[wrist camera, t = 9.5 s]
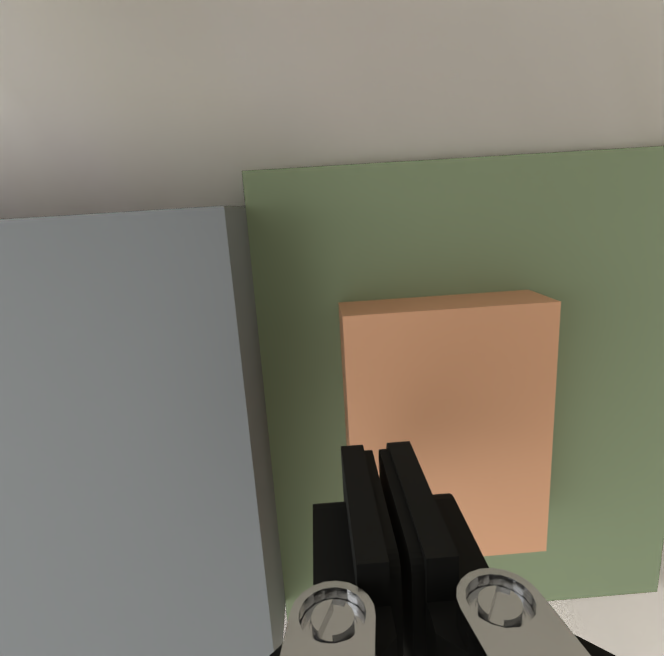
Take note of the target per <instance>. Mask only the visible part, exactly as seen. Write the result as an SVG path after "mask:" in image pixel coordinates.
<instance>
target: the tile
mask: <svg viewBox="0 0 664 656" xmlns="http://www.w3.org/2000/svg"><path fill="white" fill-rule="evenodd" d="M338 305H339V322H340V340H341V357H342V375H343V392H344V409H345V427H346V444H347V446H350V445H363V447H364V450H372V451H373V455H374V459H375V462H376V466H377V470H378V474H379V449H386V444H387V443H390V442H403V441H410V443H411V445H412V447H413V450H414V452H415V454H416V457H417V459H418V461H419V464H420V466H421V468H422V471H423V473H424V475H425V478H426V480H427V482H428V485H429V487H430V489H431V492H432V494H445V493H450V494H452V495H453V497H454V498H455V500H456V502H457V504H458V506H459V508H460V510H461V512H462V514H463V516H464V518H465V520H466V522H467V524H468V526H469V528H470V530H471V532H472V534H473V536H474V538H475V540H476V542H477V544H478V546H479V548H480V550H481V552H482V554H483V556H493V555H505V554H517V553H529V552H541V551H546V548H547V531H548V514H549V497H550V480H551V463H552V446H553V429H554V412H555V395H556V378H557V361H558V344H559V328H560V311H561V301H558V300H555V299H553V298H550V297H547V296H544V295H542V294H539V293H536V292H534V291H531V290H516V291H501V292H487V293H472V294H457V295H442V296H427V297H412V298H397V299H382V300H368V301H353V302H338Z"/></svg>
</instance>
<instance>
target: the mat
mask: <svg viewBox="0 0 664 656" xmlns="http://www.w3.org/2000/svg"><path fill="white" fill-rule="evenodd" d="M242 177H243V187H244V197H245V207H246V217H247V227H248V236H249V246H250V256H251V266H252V276H253V286H254V296H255V306H256V315H257V325H258V335H259V345H260V355H261V365H262V375H263V385H264V395H265V404H266V414H267V424H268V434H269V444H270V454H271V464H272V474H273V484H274V493H275V503H276V513H277V523H278V533H279V543H280V553H281V563H282V572H283V582H284V592H285V602H286V612H287V622H288V618H289V614H290V611H291V608H292V606H293V604H294V601H295V600H296V599H297V598H298V597H299V596H300V594H301V593H302V592H304V591H305V590H307V589H308V588H310V587H311V586H313V504H318V503H331V502H344V495H343V479H342V462H341V446H347V444H346V427H345V409H344V392H343V375H342V357H341V340H340V322H339V305H338V302H353V301H368V300H382V299H397V298H412V297H427V296H442V295H457V294H472V293H487V292H501V291H516V290H531V291H534V292H536V293H539V294H542V295H544V296H547V297H550V298H553V299H555V300H558V301H561V311H560V328H559V344H558V361H557V378H556V395H555V412H554V429H553V446H552V463H551V480H550V497H549V514H548V531H547V548H546V551H541V552H529V553H517V554H505V555H493V556H484V558H485V560H486V562H487V564H488V566H489V568H496V569H503V570H507V571H510V572H512V573H515V574H518V575H519V576H521V577H523V578H524V579H526V580H528V581H529V582H530V583H531V584H532V585H533V586H534V587H536V588H537V589H538V590H539V592H540V593H541V594H542V595H543V597H544V598H545V599H546V600H547V601H554V600H566V599H577V598H589V597H600V596H612V595H624V594H635V593H647V592H657V588H658V580H659V572H660V564H661V557H662V549H663V541H664V146H654V147H637V148H620V149H603V150H586V151H570V152H553V153H536V154H519V155H502V156H485V157H468V158H452V159H435V160H418V161H401V162H384V163H367V164H350V165H334V166H317V167H300V168H283V169H266V170H249V171H242Z"/></svg>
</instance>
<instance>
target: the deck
mask: <svg viewBox="0 0 664 656" xmlns="http://www.w3.org/2000/svg"><path fill="white" fill-rule="evenodd" d="M284 615H285V592H284V582H283V572H282V563H281V553H280V543H279V533H278V523H277V513H276V503H275V493H274V484H273V474H272V464H271V454H270V444H269V434H268V424H267V414H266V404H265V395H264V385H263V375H262V365H261V355H260V345H259V335H258V325H257V315H256V306H255V296H254V286H253V276H252V266H251V256H250V246H249V236H248V227H247V217H246V207H242V206H211V207H194V208H178V209H162V210H146V211H129V212H113V213H97V214H80V215H64V216H48V217H31V218H15V219H0V656H269V655H271V654H272V653H273V652H274V651H275V650H276V649H277V648H278V647H279V646H280V645H281V644H283V631H284Z"/></svg>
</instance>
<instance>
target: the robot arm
mask: <svg viewBox="0 0 664 656" xmlns="http://www.w3.org/2000/svg"><path fill="white" fill-rule="evenodd" d="M341 462H342V479H343V495H344V502H331V503H318V504H313V586H311V587H310V588H308V589H307V590H305V591H304V592H302V593H301V594H300V596H299V597H298V598H297V599H296V600H295V601H294V604H293V606H292V608H291V611H290V614H289V618H288V623H287V627H286V631H285V636H284V640H283V644H281V645H280V646H279V647H278V648H277V649H276V650H275V651H274V652H273V653H272V654H271V655H269V656H615V655H613V654H611V653H609V652H607V651H605V650H604V649H602V648H600V647H598V646H596V645H594V644H592V643H590V642H588V641H586V640H584V639H582V638H580V637H578V636H576V635H574V634H573V633H572V631H571V630H570V629H569V628H568V626H567V625H566V624H565V623H564V621H563V620H562V619H561V618H560V616H559V615H558V614H557V613H556V611H555V610H554V609H553V608H552V607H551V605H550V604H549V603H548V602H547V600H546V599H545V598H544V597H543V595H542V594H541V593H540V592H539V590H538V589H537V588H536V587H534V586H533V585H532V584H531V583H530V582H529V581H528V580H526V579H524V578H523V577H521V576H519V575H518V574H515V573H512V572H510V571H507V570H503V569H496V568H489V566H488V564H487V562H486V560H485V558H484V556H483V554H482V552H481V550H480V548H479V546H478V544H477V542H476V540H475V538H474V536H473V534H472V532H471V530H470V528H469V526H468V524H467V522H466V520H465V518H464V516H463V514H462V512H461V510H460V508H459V506H458V504H457V502H456V500H455V498H454V497H453V495H452V494H450V493H445V494H432V492H431V489H430V487H429V485H428V482H427V480H426V478H425V475H424V473H423V471H422V468H421V466H420V464H419V461H418V459H417V457H416V454H415V452H414V450H413V447H412V445H411V443H410V441H403V442H390V443H387V444H386V449H379V474H378V470H377V466H376V462H375V459H374V455H373V451H372V450H364V447H363V445H350V446H341Z"/></svg>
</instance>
